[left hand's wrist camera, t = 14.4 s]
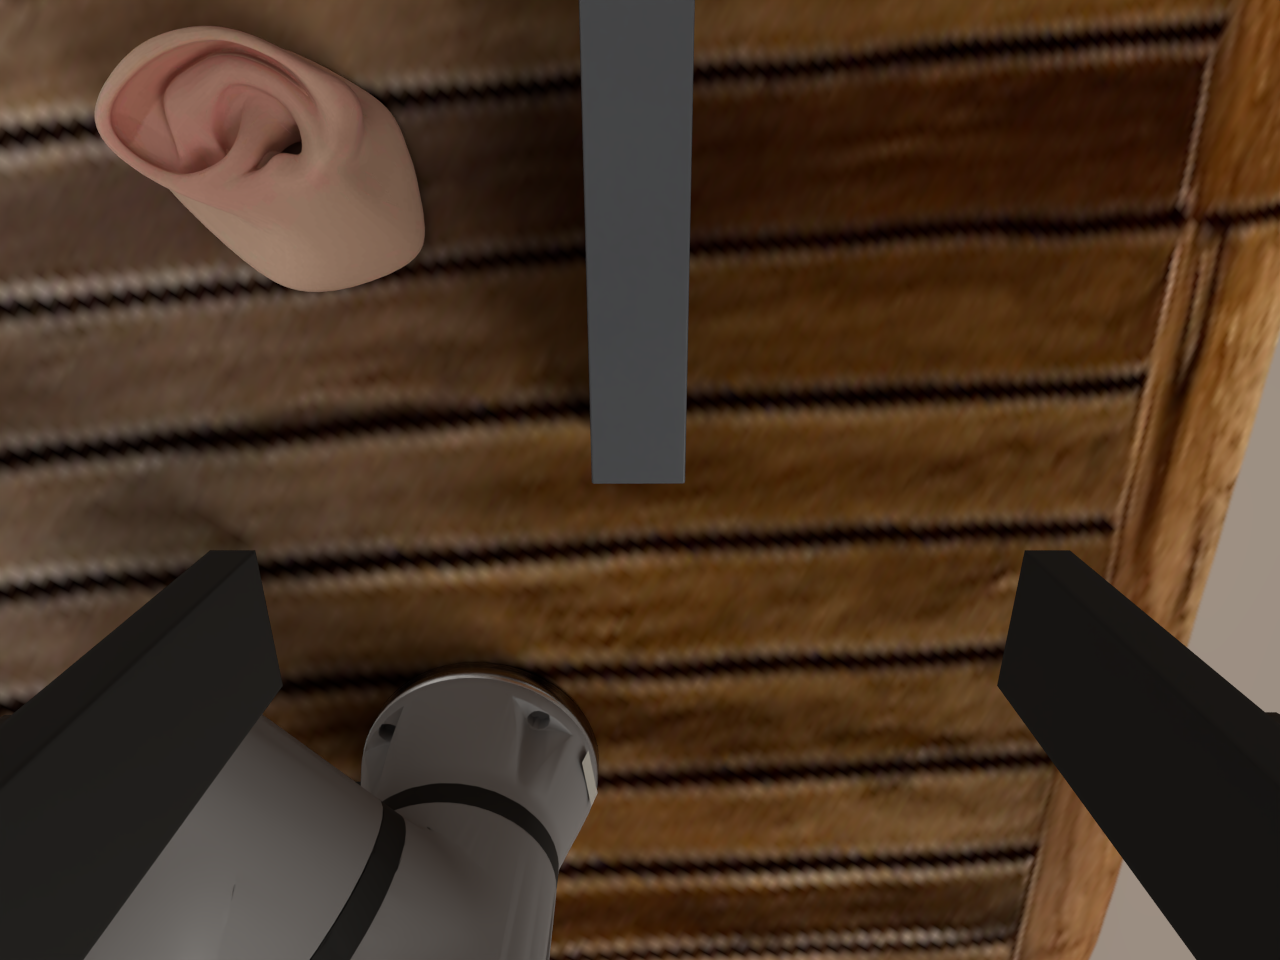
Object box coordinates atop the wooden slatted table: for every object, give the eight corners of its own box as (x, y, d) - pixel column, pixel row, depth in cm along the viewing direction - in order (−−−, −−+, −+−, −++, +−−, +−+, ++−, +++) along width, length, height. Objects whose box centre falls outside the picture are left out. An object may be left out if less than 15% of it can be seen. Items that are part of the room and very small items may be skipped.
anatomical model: (448, 224, 34) (262, 359, 37) (466, 221, 38) (297, 344, 40) (244, -66, 30) (50, 106, 33) (287, -38, 34) (110, 115, 36)
